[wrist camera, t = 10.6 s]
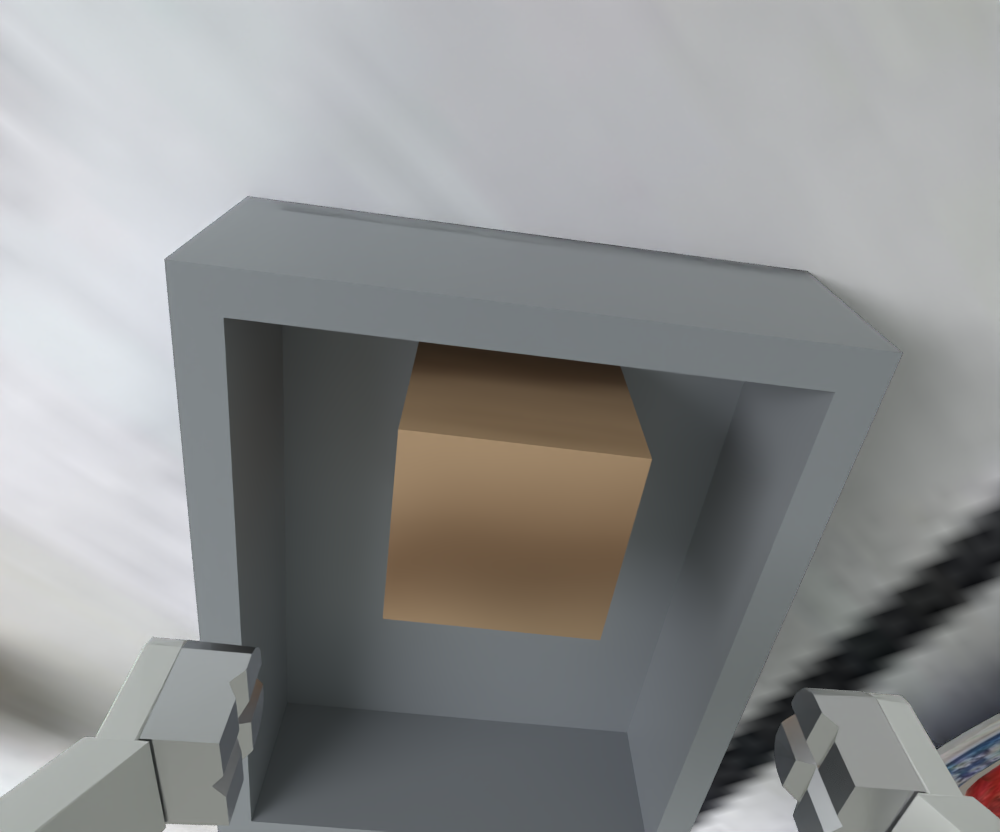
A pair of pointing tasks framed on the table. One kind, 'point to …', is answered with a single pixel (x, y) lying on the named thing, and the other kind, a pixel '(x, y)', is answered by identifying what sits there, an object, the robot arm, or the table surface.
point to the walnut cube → (512, 492)
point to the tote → (369, 493)
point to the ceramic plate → (976, 762)
